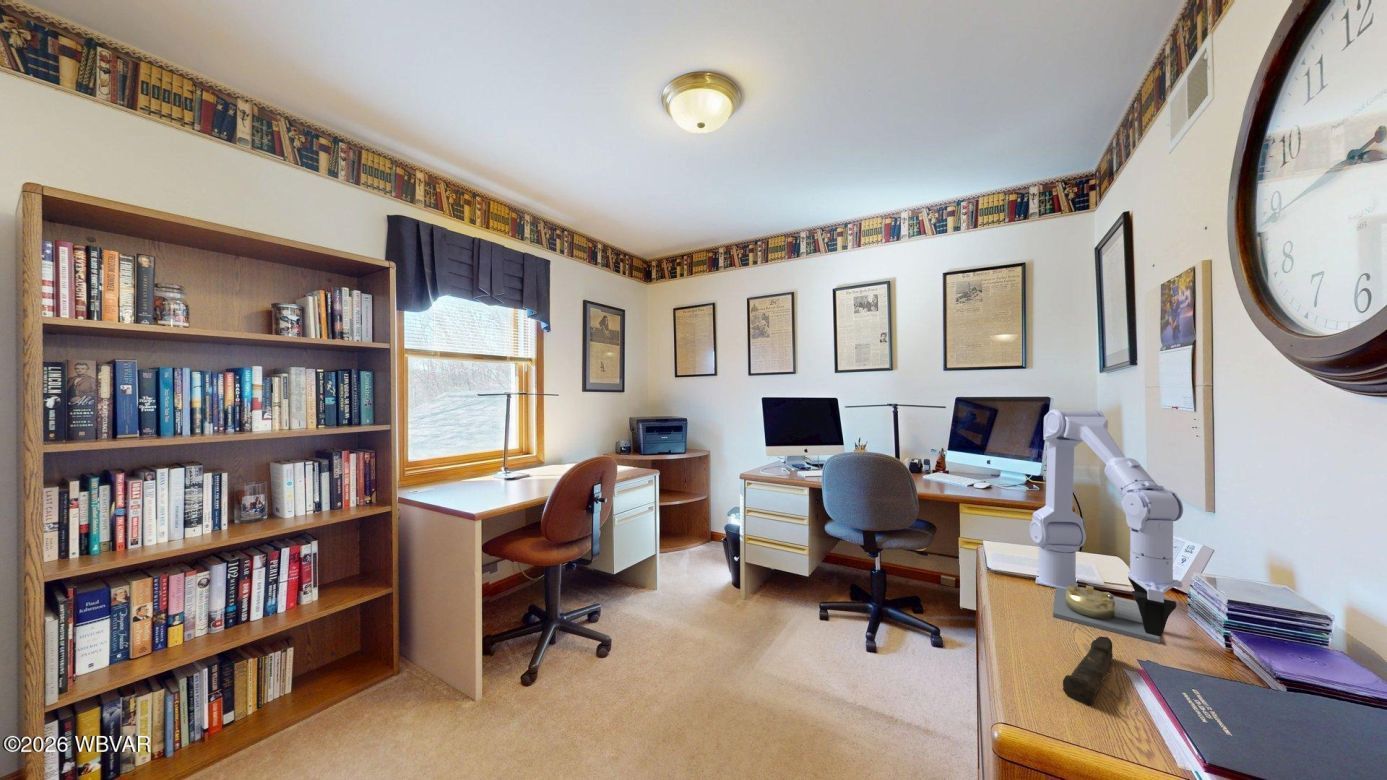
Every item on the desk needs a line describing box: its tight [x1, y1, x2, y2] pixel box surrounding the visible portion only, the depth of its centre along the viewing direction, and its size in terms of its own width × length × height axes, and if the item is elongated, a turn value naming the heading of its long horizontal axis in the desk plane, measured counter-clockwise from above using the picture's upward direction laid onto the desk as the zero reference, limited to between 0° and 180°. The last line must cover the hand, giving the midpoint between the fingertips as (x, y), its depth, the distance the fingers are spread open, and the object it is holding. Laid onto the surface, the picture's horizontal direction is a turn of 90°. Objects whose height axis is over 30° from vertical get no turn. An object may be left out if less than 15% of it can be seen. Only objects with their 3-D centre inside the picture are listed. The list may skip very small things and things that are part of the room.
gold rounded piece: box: [1066, 584, 1143, 623], centre depth 96 cm, size 14×8×4 cm, turn 50°
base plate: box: [1052, 587, 1161, 644], centre depth 99 cm, size 16×16×1 cm
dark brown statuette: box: [1062, 636, 1114, 706], centre depth 77 cm, size 19×4×5 cm, turn 125°
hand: (1150, 625), depth 86 cm, fingers open, 7 cm apart
